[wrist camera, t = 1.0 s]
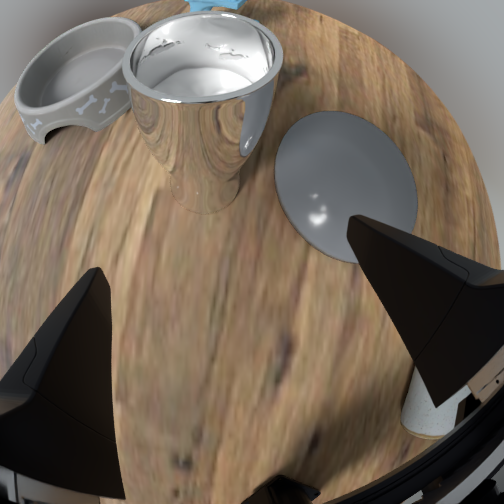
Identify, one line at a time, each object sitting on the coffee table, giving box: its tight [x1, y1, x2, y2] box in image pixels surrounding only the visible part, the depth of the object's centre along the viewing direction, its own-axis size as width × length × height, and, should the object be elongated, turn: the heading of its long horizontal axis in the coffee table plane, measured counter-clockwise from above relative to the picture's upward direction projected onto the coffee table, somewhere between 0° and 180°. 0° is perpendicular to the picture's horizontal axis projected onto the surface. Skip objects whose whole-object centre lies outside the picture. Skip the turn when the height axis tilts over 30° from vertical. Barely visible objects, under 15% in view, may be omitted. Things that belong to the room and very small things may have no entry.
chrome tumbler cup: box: [122, 11, 283, 214], centre depth 16 cm, size 7×7×15 cm
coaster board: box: [274, 111, 418, 264], centre depth 25 cm, size 16×16×1 cm
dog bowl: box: [14, 17, 142, 145], centre depth 20 cm, size 17×18×5 cm
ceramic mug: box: [401, 366, 471, 439], centre depth 20 cm, size 11×8×8 cm
